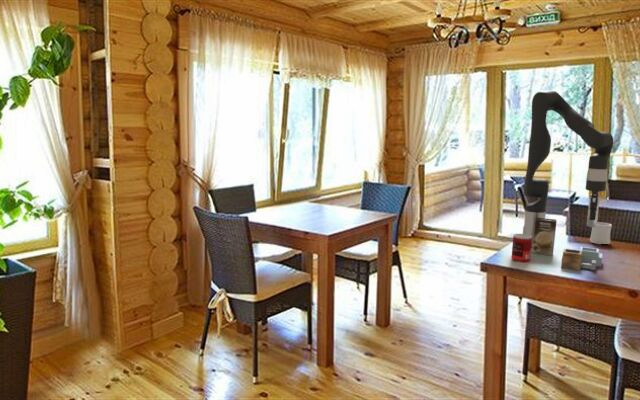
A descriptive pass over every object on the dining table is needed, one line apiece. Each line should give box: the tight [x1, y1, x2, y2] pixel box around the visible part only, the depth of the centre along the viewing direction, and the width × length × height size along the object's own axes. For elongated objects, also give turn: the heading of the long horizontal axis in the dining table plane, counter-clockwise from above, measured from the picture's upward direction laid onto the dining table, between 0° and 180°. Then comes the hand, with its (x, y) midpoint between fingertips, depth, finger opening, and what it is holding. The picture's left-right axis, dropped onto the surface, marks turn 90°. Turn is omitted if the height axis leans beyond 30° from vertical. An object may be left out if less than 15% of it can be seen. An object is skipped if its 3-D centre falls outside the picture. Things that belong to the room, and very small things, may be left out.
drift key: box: [580, 260, 597, 271], centre depth 207 cm, size 10×4×3 cm, turn 60°
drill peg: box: [586, 203, 600, 228], centre depth 211 cm, size 4×4×10 cm
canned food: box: [511, 233, 532, 263], centre depth 217 cm, size 8×8×11 cm
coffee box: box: [531, 217, 558, 256], centre depth 229 cm, size 9×6×16 cm
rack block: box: [579, 246, 603, 268], centre depth 214 cm, size 10×8×6 cm
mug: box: [589, 221, 613, 245], centre depth 252 cm, size 12×9×10 cm
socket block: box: [560, 247, 582, 272], centre depth 209 cm, size 7×10×7 cm
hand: (592, 218), depth 212 cm, fingers closed on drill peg, 3 cm apart
